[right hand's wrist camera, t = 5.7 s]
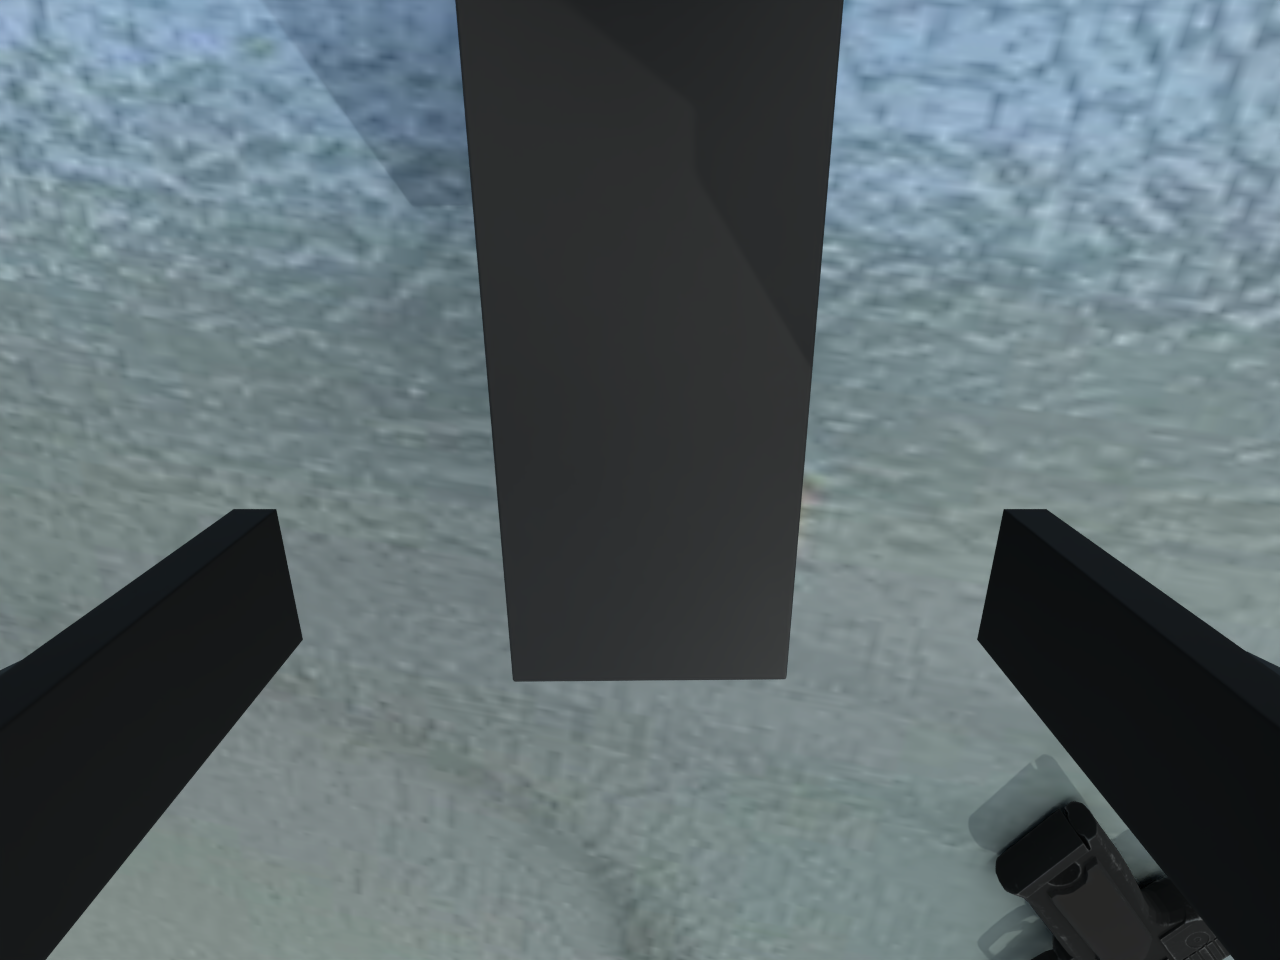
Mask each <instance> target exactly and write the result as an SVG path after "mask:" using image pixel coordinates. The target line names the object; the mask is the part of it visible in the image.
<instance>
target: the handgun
mask: <svg viewBox="0 0 1280 960" xmlns="http://www.w3.org/2000/svg"><path fill="white" fill-rule="evenodd" d="M1065 810H1066V813H1067V815H1066V816H1065V815H1064V814H1063V813H1062V811H1061V810H1060V809H1058V810H1057V811H1056V812H1054V813H1053V814H1052V815H1051V816H1049V817H1048V818H1047V819H1046V820H1044V821H1043V822H1042V823H1041V824H1039V825H1038V826H1037V827H1036V828H1034V829H1033V830H1032V831H1031V832H1029V833H1028V834H1027V835H1026V836H1024V837H1023V838H1022V839H1021V840H1019V841H1018V842H1017V843H1015V844H1014V845H1013V846H1012V847H1010V848H1009V849H1008V850H1007V851H1005V852H1004V853H1003V854H1002V855H1000V856H999V857H998V858H997V861H996V874H997V877H998V879H999V882H1000V883H1001V885H1002V886H1003V888H1004V889H1005V890H1006V891H1007V892H1009V893H1012V894H1014V895H1017V896H1020V897H1022V898H1024V899H1025V900H1027V901H1028V902H1029V903H1030V905H1031V906H1032V907H1033V909H1034V910H1035V911H1036V912H1037V914H1038V915H1039V916H1040V918H1041V919H1042V920H1043V922H1044V923H1045V924H1046V925H1047V927H1048V928H1049V929H1050V931H1051V932H1052V933H1053V950H1049V951H1046V952H1044V953H1042V954H1040V955H1038V956H1037V957H1035V958H1033V959H1031V960H1223V959H1224V958H1226V957H1227V956H1229V955H1230V954H1229V952H1228V951H1227V950H1226V949H1225V947H1224V946H1223V945H1222V944H1221V942H1220V941H1219V940H1218V939H1217V937H1216V936H1215V935H1214V934H1213V932H1212V931H1211V930H1210V929H1209V927H1208V926H1207V925H1206V924H1205V922H1204V921H1203V920H1202V919H1201V917H1200V916H1199V915H1198V914H1197V912H1196V911H1195V910H1194V909H1193V907H1192V906H1191V905H1190V904H1189V903H1188V901H1187V900H1186V899H1185V898H1184V896H1183V895H1182V894H1181V893H1180V891H1179V890H1178V889H1177V888H1176V886H1175V885H1174V884H1173V883H1172V881H1171V880H1170V879H1169V878H1164V879H1160V880H1157V881H1154V882H1152V883H1151V884H1150V885H1148V886H1147V887H1145V888H1143V889H1140V888H1139V886H1138V884H1137V882H1136V881H1135V879H1134V877H1133V875H1132V873H1131V871H1130V870H1129V868H1128V866H1127V864H1126V863H1125V861H1124V859H1123V858H1122V856H1121V855H1120V853H1119V851H1118V850H1117V849H1116V847H1115V846H1114V844H1113V843H1112V842H1111V840H1110V839H1109V837H1108V836H1107V835H1106V833H1105V832H1104V831H1103V829H1102V828H1101V826H1100V825H1099V824H1098V822H1097V821H1096V819H1095V818H1094V817H1093V815H1092V814H1091V812H1090V811H1089V810H1088V809H1087V808H1086V807H1085V806H1084V805H1083V804H1082V803H1079V802H1074V801H1073V802H1070V803H1069V804H1068V805H1067V806H1065Z"/></svg>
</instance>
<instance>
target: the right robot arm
mask: <svg viewBox="0 0 1280 960" xmlns="http://www.w3.org/2000/svg"><path fill="white" fill-rule="evenodd" d="M302 640H303V638H302V633H301V629H300V624H299V619H298V614H297V609H296V604H295V599H294V594H293V589H292V584H291V580H290V575H289V570H288V565H287V560H286V555H285V550H284V545H283V540H282V535H281V530H280V526H279V521H278V516H277V511H276V509H233V510H232V511H231V512H229V513H228V514H226V515H225V516H224V517H222V518H221V519H219V520H218V521H216V522H215V523H214V524H212V525H211V526H209V527H208V528H207V529H205V530H204V531H202V532H201V533H200V534H198V535H197V536H195V537H194V538H193V539H191V540H190V541H188V542H187V543H186V544H184V545H183V546H181V547H180V548H179V549H177V550H176V551H174V552H173V553H172V554H170V555H169V556H167V557H166V558H165V559H163V560H162V561H160V562H159V563H158V564H156V565H155V566H153V567H152V568H150V569H149V570H148V571H146V572H145V573H143V574H142V575H141V576H139V577H138V578H136V579H135V580H134V581H132V582H131V583H129V584H128V585H127V586H125V587H124V588H122V589H121V590H120V591H118V592H117V593H115V594H114V595H113V596H111V597H110V598H108V599H107V600H106V601H104V602H103V603H101V604H100V605H99V606H97V607H96V608H94V609H93V610H92V611H90V612H89V613H87V614H86V615H85V616H83V617H82V618H80V619H79V620H77V621H76V622H75V623H73V624H72V625H70V626H69V627H68V628H66V629H65V630H63V631H62V632H61V633H59V634H58V635H56V636H55V637H54V638H52V639H51V640H49V641H48V642H47V643H45V644H44V645H42V646H41V647H40V648H38V649H37V650H35V651H34V652H33V653H31V654H30V655H28V656H27V657H26V658H24V659H23V660H21V661H19V662H17V663H15V664H12V665H10V666H8V667H6V668H4V669H2V670H0V960H46V959H47V957H48V956H49V955H50V954H51V952H52V951H53V950H54V949H55V947H56V946H57V945H58V944H59V942H60V941H61V940H62V939H63V937H64V936H65V935H66V934H67V932H68V931H69V930H70V929H71V927H72V926H73V925H74V924H75V922H76V921H77V920H78V919H79V917H80V916H81V915H82V914H83V912H84V911H85V910H86V909H87V907H88V906H89V905H90V904H91V903H92V901H93V900H94V899H95V898H96V896H97V895H98V894H99V893H100V891H101V890H102V889H103V888H104V886H105V885H106V884H107V883H108V881H109V880H110V879H111V878H112V876H113V875H114V874H115V873H116V871H117V870H118V869H119V868H120V866H121V865H122V864H123V863H124V861H125V860H126V859H127V858H128V856H129V855H130V854H131V853H132V851H133V850H134V849H135V848H136V847H137V845H138V844H139V843H140V842H141V840H142V839H143V838H144V837H145V835H146V834H147V833H148V832H149V830H150V829H151V828H152V827H153V825H154V824H155V823H156V822H157V820H158V819H159V818H160V817H161V815H162V814H163V813H164V812H165V810H166V809H167V808H168V807H169V805H170V804H171V803H172V802H173V800H174V799H175V798H176V797H177V795H178V794H179V793H180V792H181V791H182V789H183V788H184V787H185V786H186V784H187V783H188V782H189V781H190V779H191V778H192V777H193V776H194V774H195V773H196V772H197V771H198V769H199V768H200V767H201V766H202V764H203V763H204V762H205V761H206V759H207V758H208V757H209V756H210V754H211V753H212V752H213V751H214V749H215V748H216V747H217V746H218V744H219V743H220V742H221V741H222V739H223V738H224V737H225V736H226V735H227V733H228V732H229V731H230V730H231V728H232V727H233V726H234V725H235V723H236V722H237V721H238V720H239V718H240V717H241V716H242V715H243V713H244V712H245V711H246V710H247V708H248V707H249V706H250V705H251V703H252V702H253V701H254V700H255V698H256V697H257V696H258V695H259V693H260V692H261V691H262V690H263V688H264V687H265V686H266V685H267V683H268V682H269V681H270V680H271V678H272V677H273V676H274V675H275V674H276V672H277V671H278V670H279V669H280V667H281V666H282V665H283V664H284V662H285V661H286V660H287V659H288V657H289V656H290V655H291V654H292V652H293V651H294V650H295V649H296V647H297V646H298V645H299V644H300V642H301V641H302ZM977 640H978V641H979V642H980V644H981V645H982V646H983V647H984V649H985V650H986V651H987V652H988V654H989V655H990V656H991V657H992V659H993V660H994V661H995V662H996V664H997V665H998V666H999V667H1000V669H1001V670H1002V671H1003V672H1004V674H1005V675H1006V676H1007V677H1008V678H1009V680H1010V681H1011V682H1012V683H1013V685H1014V686H1015V687H1016V688H1017V690H1018V691H1019V692H1020V693H1021V695H1022V696H1023V697H1024V698H1025V700H1026V701H1027V702H1028V703H1029V705H1030V706H1031V707H1032V708H1033V710H1034V711H1035V712H1036V713H1037V715H1038V716H1039V717H1040V718H1041V720H1042V721H1043V722H1044V723H1045V725H1046V726H1047V727H1048V728H1049V730H1050V731H1051V732H1052V733H1053V735H1054V736H1055V737H1056V738H1057V739H1058V741H1059V742H1060V743H1061V744H1062V746H1063V747H1064V748H1065V749H1066V751H1067V752H1068V753H1069V754H1070V756H1071V757H1072V758H1073V759H1074V761H1075V762H1076V763H1077V764H1078V766H1079V767H1080V768H1081V769H1082V771H1083V772H1084V773H1085V774H1086V776H1087V777H1088V778H1089V779H1090V781H1091V782H1092V783H1093V784H1094V786H1095V787H1096V788H1097V789H1098V791H1099V792H1100V793H1101V794H1102V795H1103V797H1104V798H1105V799H1106V800H1107V802H1108V803H1109V804H1110V805H1111V807H1112V808H1113V809H1114V810H1115V812H1116V813H1117V814H1118V815H1119V817H1120V818H1121V819H1122V820H1123V822H1124V823H1125V824H1126V825H1127V827H1128V828H1129V829H1130V830H1131V832H1132V833H1133V834H1134V835H1135V837H1136V838H1137V839H1138V840H1139V842H1140V843H1141V844H1142V845H1143V847H1144V848H1145V849H1146V850H1147V851H1148V853H1149V854H1150V855H1151V856H1152V858H1153V859H1154V860H1155V861H1156V863H1157V864H1158V865H1159V866H1160V868H1161V869H1162V870H1163V871H1164V873H1165V874H1166V875H1167V876H1168V878H1169V879H1170V880H1171V881H1172V883H1173V884H1174V885H1175V886H1176V888H1177V889H1178V890H1179V891H1180V893H1181V894H1182V895H1183V896H1184V898H1185V899H1186V900H1187V901H1188V903H1189V904H1190V905H1191V906H1192V907H1193V909H1194V910H1195V911H1196V912H1197V914H1198V915H1199V916H1200V917H1201V919H1202V920H1203V921H1204V922H1205V924H1206V925H1207V926H1208V927H1209V929H1210V930H1211V931H1212V932H1213V934H1214V935H1215V936H1216V937H1217V939H1218V940H1219V941H1220V942H1221V944H1222V945H1223V946H1224V947H1225V949H1226V950H1227V951H1228V952H1229V954H1230V955H1231V956H1232V957H1233V959H1234V960H1280V667H1278V666H1276V665H1274V664H1272V663H1270V662H1268V661H1266V660H1263V659H1261V658H1259V657H1257V656H1255V655H1253V654H1251V653H1249V652H1246V651H1245V650H1243V649H1242V648H1240V647H1239V646H1238V645H1236V644H1235V643H1233V642H1232V641H1231V640H1229V639H1228V638H1226V637H1225V636H1224V635H1222V634H1221V633H1219V632H1218V631H1217V630H1215V629H1214V628H1212V627H1211V626H1210V625H1208V624H1207V623H1205V622H1204V621H1203V620H1201V619H1200V618H1198V617H1197V616H1195V615H1194V614H1193V613H1191V612H1190V611H1188V610H1187V609H1186V608H1184V607H1183V606H1181V605H1180V604H1179V603H1177V602H1176V601H1174V600H1173V599H1172V598H1170V597H1169V596H1167V595H1166V594H1165V593H1163V592H1162V591H1160V590H1159V589H1158V588H1156V587H1155V586H1153V585H1152V584H1151V583H1149V582H1148V581H1146V580H1145V579H1144V578H1142V577H1141V576H1139V575H1138V574H1137V573H1135V572H1134V571H1132V570H1131V569H1130V568H1128V567H1127V566H1125V565H1124V564H1122V563H1121V562H1120V561H1118V560H1117V559H1115V558H1114V557H1113V556H1111V555H1110V554H1108V553H1107V552H1106V551H1104V550H1103V549H1101V548H1100V547H1099V546H1097V545H1096V544H1094V543H1093V542H1092V541H1090V540H1089V539H1087V538H1086V537H1085V536H1083V535H1082V534H1080V533H1079V532H1078V531H1076V530H1075V529H1073V528H1072V527H1071V526H1069V525H1068V524H1066V523H1065V522H1064V521H1062V520H1061V519H1059V518H1058V517H1056V516H1055V515H1054V514H1052V513H1051V512H1049V511H1048V510H1047V509H1004V511H1003V516H1002V521H1001V526H1000V530H999V535H998V540H997V545H996V550H995V555H994V560H993V565H992V570H991V575H990V580H989V584H988V589H987V594H986V599H985V604H984V609H983V614H982V619H981V624H980V629H979V633H978V638H977Z"/></svg>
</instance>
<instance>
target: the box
mask: <svg viewBox="0 0 1280 960" xmlns="http://www.w3.org/2000/svg"><path fill="white" fill-rule="evenodd" d="M843 1H844V0H455V2H456V13H457V25H458V37H459V49H460V61H461V72H462V84H463V96H464V108H465V120H466V131H467V143H468V155H469V167H470V179H471V190H472V202H473V214H474V226H475V238H476V249H477V261H478V273H479V285H480V297H481V308H482V320H483V332H484V344H485V356H486V367H487V379H488V391H489V403H490V415H491V426H492V438H493V450H494V462H495V474H496V485H497V497H498V509H499V521H500V533H501V544H502V556H503V568H504V580H505V592H506V603H507V615H508V627H509V639H510V651H511V662H512V674H513V680H514V681H515V682H517V681H632V680H747V679H786V675H787V663H788V651H789V640H790V628H791V616H792V604H793V592H794V580H795V569H796V557H797V545H798V533H799V521H800V509H801V498H802V486H803V474H804V462H805V450H806V438H807V427H808V415H809V403H810V391H811V379H812V367H813V356H814V344H815V332H816V320H817V308H818V297H819V285H820V273H821V261H822V249H823V237H824V226H825V214H826V202H827V190H828V178H829V166H830V155H831V143H832V131H833V119H834V107H835V95H836V84H837V72H838V60H839V48H840V36H841V24H842V13H843Z"/></svg>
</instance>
